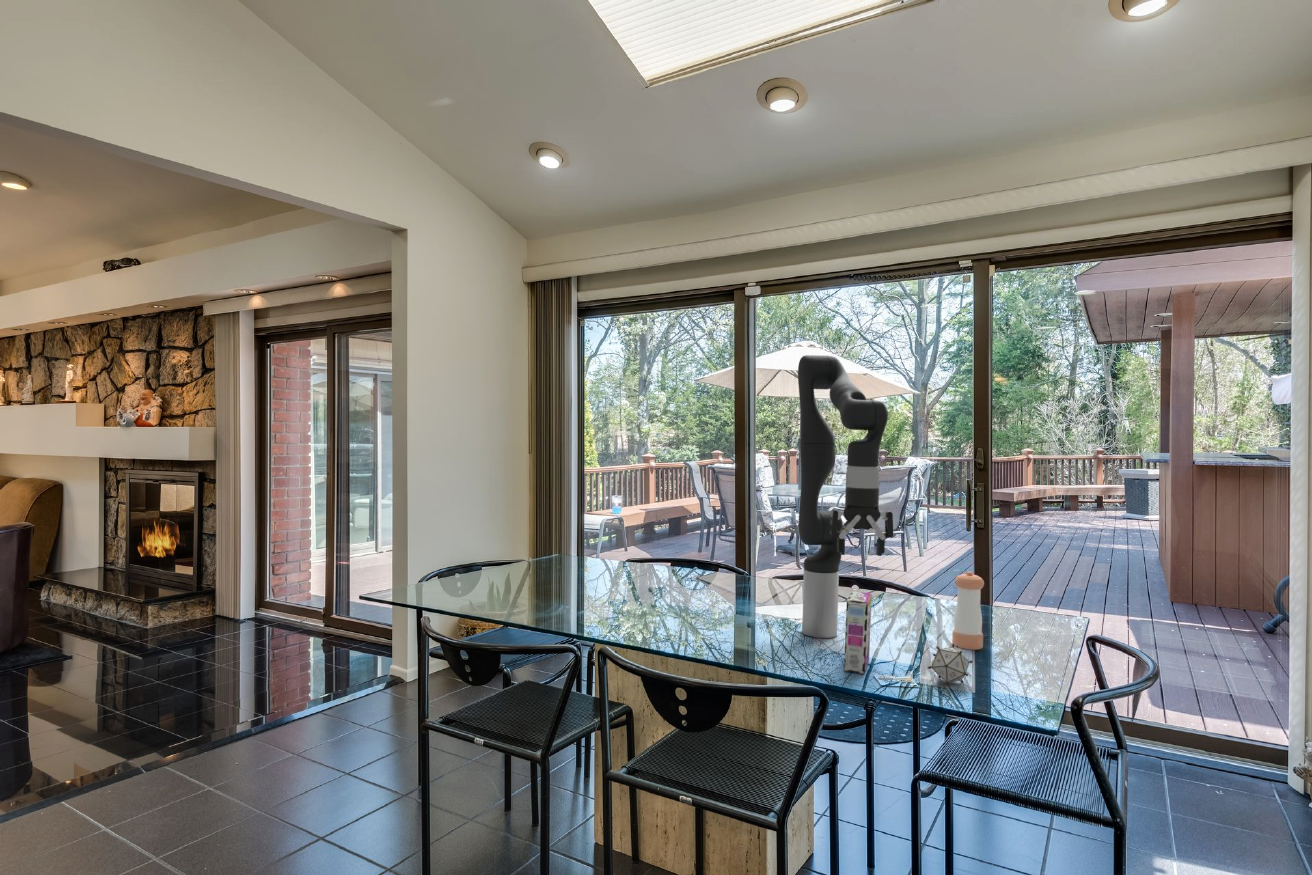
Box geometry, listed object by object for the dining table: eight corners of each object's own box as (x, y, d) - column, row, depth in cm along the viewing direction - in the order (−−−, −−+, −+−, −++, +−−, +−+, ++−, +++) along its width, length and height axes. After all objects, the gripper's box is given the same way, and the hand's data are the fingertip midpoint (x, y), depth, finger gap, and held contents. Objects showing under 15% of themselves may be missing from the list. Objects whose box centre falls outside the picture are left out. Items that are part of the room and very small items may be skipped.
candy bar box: (866, 675, 163) (868, 602, 162) (843, 671, 164) (845, 600, 164) (870, 660, 173) (872, 592, 173) (849, 657, 175) (851, 590, 175)
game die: (941, 700, 158) (914, 663, 159) (950, 676, 165) (923, 640, 165) (978, 690, 153) (950, 651, 153) (985, 666, 159) (958, 629, 159)
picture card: (873, 676, 162) (873, 674, 162) (910, 677, 161) (910, 676, 161) (881, 686, 156) (881, 684, 156) (918, 687, 155) (918, 685, 155)
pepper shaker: (965, 650, 183) (967, 575, 183) (946, 642, 190) (948, 569, 190) (989, 648, 185) (991, 574, 184) (969, 640, 192) (971, 568, 192)
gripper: (888, 485, 172) (886, 553, 172) (828, 483, 172) (826, 551, 172) (898, 487, 164) (896, 558, 164) (834, 486, 165) (832, 557, 165)
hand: (860, 555), depth 168 cm, fingers open, 8 cm apart
